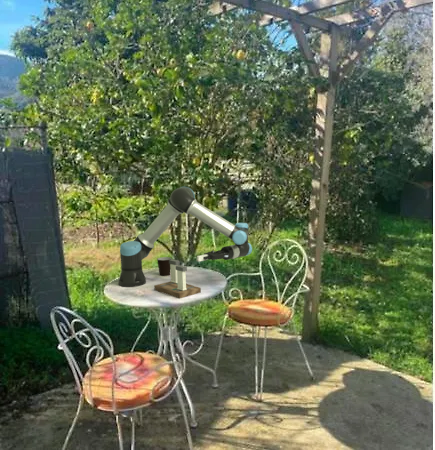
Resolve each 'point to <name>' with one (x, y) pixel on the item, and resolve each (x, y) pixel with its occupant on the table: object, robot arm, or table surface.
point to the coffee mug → (164, 266)
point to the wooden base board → (172, 289)
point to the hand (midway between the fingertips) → (197, 258)
